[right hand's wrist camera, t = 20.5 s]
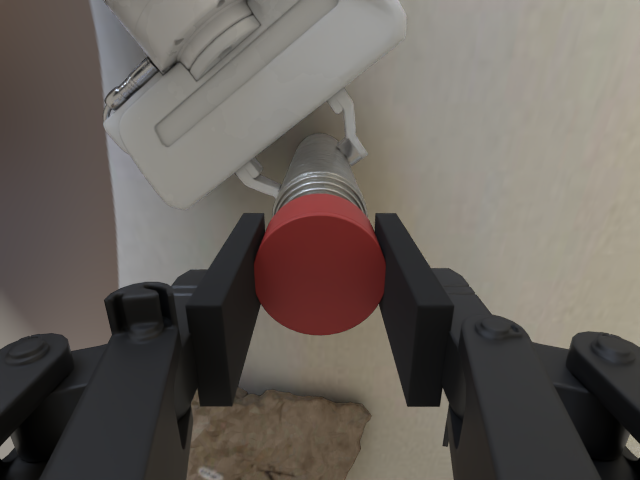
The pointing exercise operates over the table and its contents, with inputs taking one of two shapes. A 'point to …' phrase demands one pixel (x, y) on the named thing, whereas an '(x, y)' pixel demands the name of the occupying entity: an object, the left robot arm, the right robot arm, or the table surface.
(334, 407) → the stone
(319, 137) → the bottle
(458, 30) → the table surface
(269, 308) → the cap
